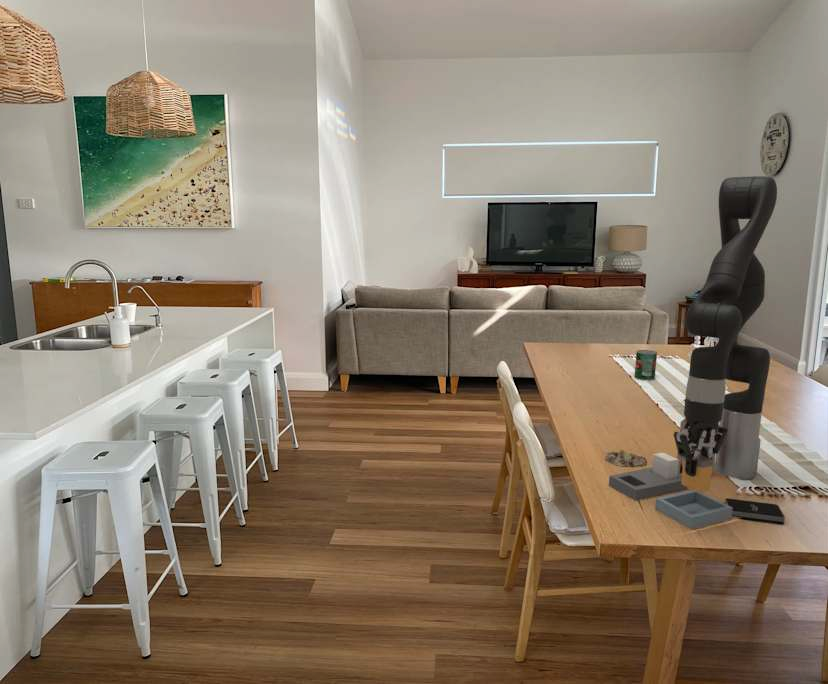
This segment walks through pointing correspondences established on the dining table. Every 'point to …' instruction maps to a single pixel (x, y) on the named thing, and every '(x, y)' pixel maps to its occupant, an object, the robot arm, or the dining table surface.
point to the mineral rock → (625, 459)
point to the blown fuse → (699, 475)
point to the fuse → (665, 466)
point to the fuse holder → (644, 484)
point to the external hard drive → (756, 511)
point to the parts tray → (693, 509)
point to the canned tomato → (645, 364)
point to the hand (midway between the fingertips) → (696, 473)
